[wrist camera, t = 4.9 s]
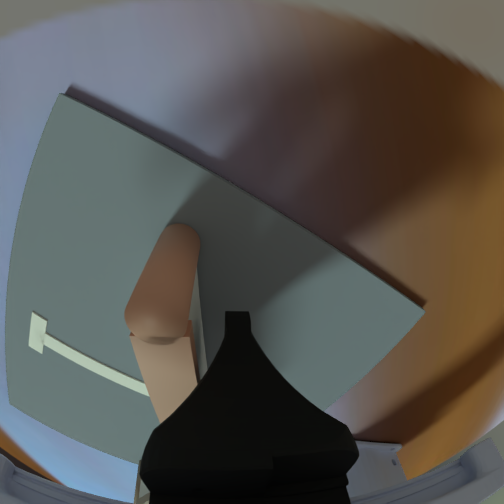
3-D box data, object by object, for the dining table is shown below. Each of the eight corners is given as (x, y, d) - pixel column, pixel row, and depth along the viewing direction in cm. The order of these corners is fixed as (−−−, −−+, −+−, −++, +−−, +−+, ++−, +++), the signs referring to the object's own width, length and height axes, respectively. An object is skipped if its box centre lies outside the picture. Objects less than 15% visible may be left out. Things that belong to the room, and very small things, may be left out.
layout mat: (422, 307, 15) (426, 312, 14) (214, 480, 22) (214, 484, 22) (64, 93, 9) (58, 93, 8) (11, 400, 16) (9, 404, 16)
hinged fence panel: (215, 400, 15) (216, 472, 11) (187, 399, 15) (182, 471, 11) (199, 222, 11) (183, 293, 7) (156, 224, 11) (118, 293, 6)
